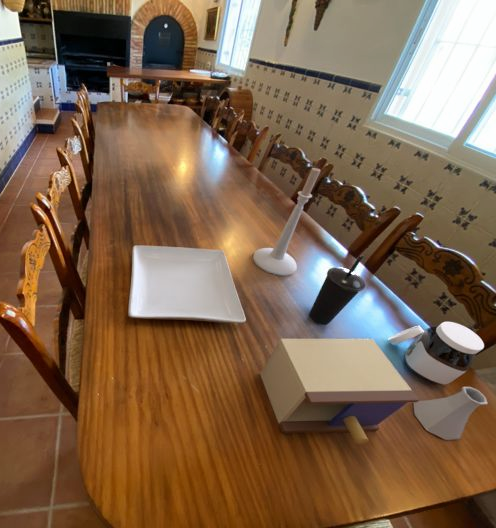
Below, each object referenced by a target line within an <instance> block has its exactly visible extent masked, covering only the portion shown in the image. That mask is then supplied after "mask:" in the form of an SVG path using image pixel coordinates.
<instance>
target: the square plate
mask: <svg viewBox="0 0 496 528" xmlns="http://www.w3.org/2000/svg"><path fill="white" fill-rule="evenodd" d="M131 255H132V256H131V257H132V258H131V276H130V277H131V280H130V290H129V297H128V298H129V300H128V309H127V310H128V311H127V312H128V317H129V318H133V319H143V320H145V319H146V320H183V321H201V322H212V323H224V324H243V323H246V321H247V318H246V316H245V312H244V309H243V306H242V303H241V300H240V297H239V294H238V291H237V288H236V286H235V281H234V279H233V276H232V272H231V269H230V266H229V263H228V259H227V256H226V254H225V251H224V250H220V249H208V248H196V247H195V248H194V247H178V246H163V245H162V246H161V245H133V246H132V253H131Z"/></svg>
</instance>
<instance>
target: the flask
mask: <svg viewBox="0 0 496 528" xmlns="http://www.w3.org/2000/svg"><path fill="white" fill-rule="evenodd" d="M412 403H413V413H414V414H413V415H414V416H415V418H417V420H418V421H419V422H420V424H421V425H422V427H423V428H424V429H425V431H426V432H429V433H430V434H433V435H435V436H437V437H439V438H441V439H443V440H445V441H451V440H452V441H453V440H460V439H461V436H462V434H463V432H464V429H465V426H466V425H467V422H468V420H469V418H470V417H471V415H472V413H473V412H474V411H475V410H476V409H477V408H478V407H480V406H487V405H488V404H489V403H488V400H487V397H486V396H485V395H484V394H483V393H482V392H481V391H480V390H479V389H476V388H474V387H471V386H462V387H461V391H459V392H457V393H455V394H452V395H450V396H447V397H440V398H434V399H427V400H419V401H418V402H412Z"/></svg>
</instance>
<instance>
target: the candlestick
mask: <svg viewBox="0 0 496 528" xmlns="http://www.w3.org/2000/svg"><path fill="white" fill-rule="evenodd" d="M320 173H321V169H320V168H318V167H312V168H311V170H310V172H309V174H308V177H307V179H306V181H305V184H304V186H303V188H302V190H300V191H298V192H297V194H298V197H297V204H296V205H294V208H293V210H292V212H291V214H290V216H289V218H288V220H287V222H286V223H285V225H284V228H283V230H282V232H281V233H280V235H279V237H278V239H277V241H276V243H275V245H274V247H263V248H259V249H257V250H255V252H254V253H253V256H252V260H253V262H254V264H255V265H256V266H257V267H258V268H259V269H260V270H262V271H263V272H266V273H268V274H270V275H273V276H276V277H277V276H278V277H289V276H292V275H294V274H295V273H296V271H297V268H298V265H297V262H296V260H295V259H294V258H293V257H292V256H291V255H290V254H288V253H287V250H288V248H289V245H290V242H291V241H292V240H291V239H292V238H293V234H294V232H295V229H296V227H297V224H298V222H299V219H300V217H301V216H302V215H301V214H302V212H303V210H304V205H305V204H307V203H308V202H309V199H311V198H313V194H311V192H312V190H313V188H314V187H315V183H316V182H317V179H318V177H319V175H320Z"/></svg>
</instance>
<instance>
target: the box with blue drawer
mask: <svg viewBox="0 0 496 528" xmlns="http://www.w3.org/2000/svg"><path fill="white" fill-rule="evenodd" d="M259 375H260V378H261V381H262V383H263V386H264V389H265V392H266V394H267V397H268V399H269V402H270V405H271V407H272V410H273V412H274V415H275V418H276V420H277V423H278V426H279V429H280V431H281V433H282V434H308V433H309V434H312V433H313V434H314V433H315V434H316V433H346V432H347V433H350V432H349V430H348V428H347V426H329V423H328V422H329V421H330V420H331V419H332V418H334V417H335V416H336V415H337V414H338V413H339V412H340V411H341V410H342V409H343V408H345V407H346V406H347V405H348V404H351V403H406V404H408V403H413V402H418V401H420V399H419V397H418V396H417V395H416V393H415V392H414V391H413V390H412V389H411V387H410V386H409V384H408V383H407V382H406V380H405V379H404V378H403V376H402V374H400V373H399V371H398V370H397V369H396V367H395V366H394V364H393V363H392V362H391V361H390V359H389V358H388V357H387V356H386V354H385V353H384V352H383V350H382V349H381V348H380V347H379V345H378V344H377V343H376V341H375V340H374V338H280V339H279V341H278V342H277V343H276V346H275V348H273V351H272V352H271V354H270V356H269V357H268V359H267V361H266V362H265V364H264V366H263V367H262V369H261V370H260V373H259ZM360 426H361V427H362V429H363V431H364V432H377V431H379V430H380V426H379V424H378V425H360Z"/></svg>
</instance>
